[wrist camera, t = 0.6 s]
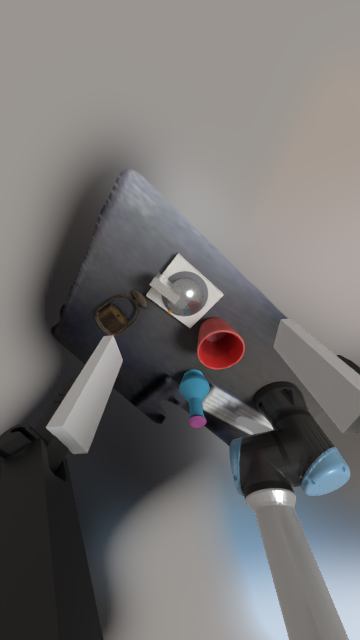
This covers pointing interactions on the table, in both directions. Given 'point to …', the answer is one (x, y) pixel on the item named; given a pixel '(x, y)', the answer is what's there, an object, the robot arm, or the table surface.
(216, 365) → the flower pot
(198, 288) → the dial
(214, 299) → the dial housing
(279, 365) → the table surface
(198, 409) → the perfume bottle
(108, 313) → the brown piece
